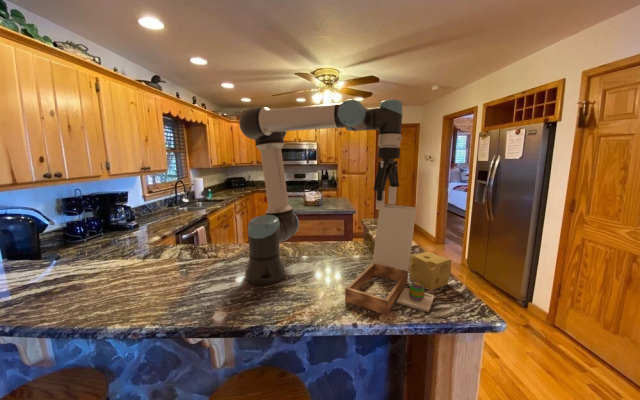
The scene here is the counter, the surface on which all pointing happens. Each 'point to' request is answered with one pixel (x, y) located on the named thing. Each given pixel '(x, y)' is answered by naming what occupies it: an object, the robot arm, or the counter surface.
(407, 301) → the dish
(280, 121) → the robot arm
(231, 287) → the counter surface
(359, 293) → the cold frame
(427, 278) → the cheese
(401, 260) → the lid
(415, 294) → the egg
